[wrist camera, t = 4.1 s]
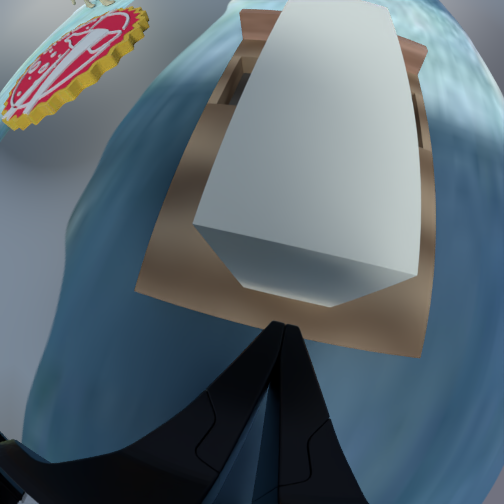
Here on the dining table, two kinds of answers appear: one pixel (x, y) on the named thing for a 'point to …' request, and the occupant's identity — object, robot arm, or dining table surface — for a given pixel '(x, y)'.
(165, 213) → the trap deck
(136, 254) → the dining table surface
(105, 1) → the sculpture
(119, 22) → the decorative sign
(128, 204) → the dining table surface
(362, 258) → the light gray block
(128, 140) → the dining table surface
